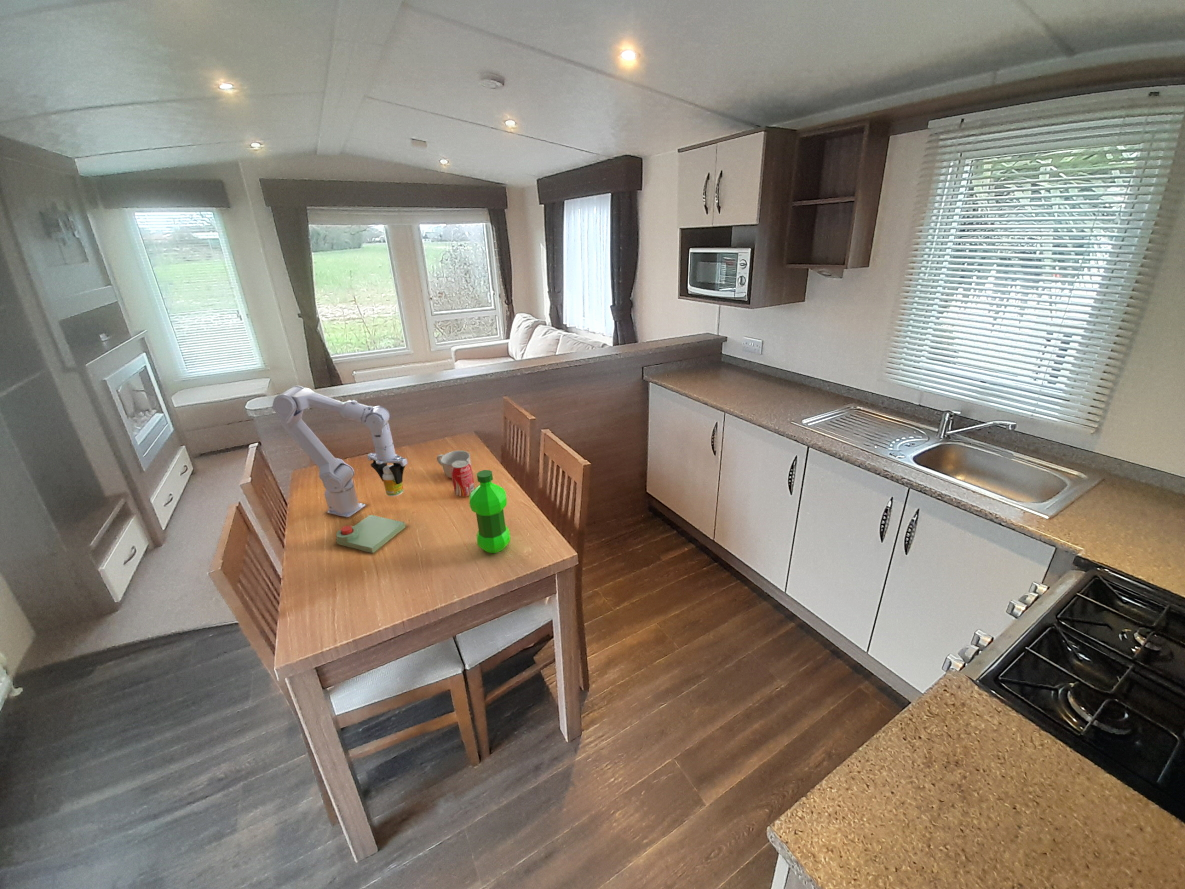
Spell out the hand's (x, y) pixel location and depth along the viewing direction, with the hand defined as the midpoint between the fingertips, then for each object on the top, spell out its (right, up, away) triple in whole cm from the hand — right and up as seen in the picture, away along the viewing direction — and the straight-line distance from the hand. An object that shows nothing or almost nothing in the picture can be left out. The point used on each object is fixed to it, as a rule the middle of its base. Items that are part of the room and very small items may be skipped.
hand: (392, 481), depth 158 cm
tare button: (-8, -14, -14) cm, 21 cm away
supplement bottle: (0, -4, +2) cm, 5 cm away
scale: (-2, -16, -10) cm, 19 cm away
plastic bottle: (+38, -18, -18) cm, 46 cm away
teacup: (+14, +1, +25) cm, 29 cm away
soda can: (+21, -5, +12) cm, 25 cm away
